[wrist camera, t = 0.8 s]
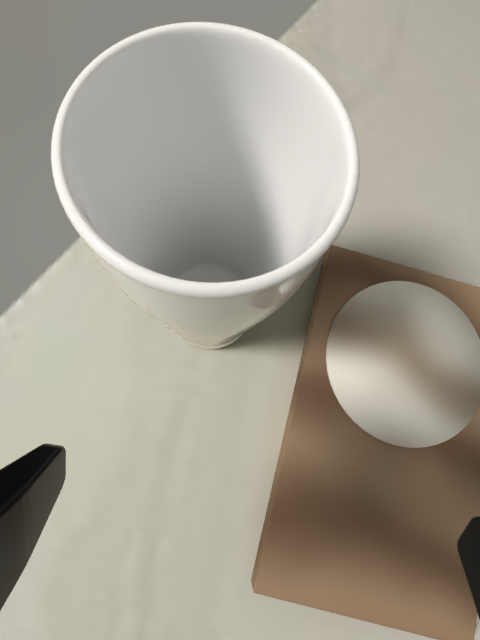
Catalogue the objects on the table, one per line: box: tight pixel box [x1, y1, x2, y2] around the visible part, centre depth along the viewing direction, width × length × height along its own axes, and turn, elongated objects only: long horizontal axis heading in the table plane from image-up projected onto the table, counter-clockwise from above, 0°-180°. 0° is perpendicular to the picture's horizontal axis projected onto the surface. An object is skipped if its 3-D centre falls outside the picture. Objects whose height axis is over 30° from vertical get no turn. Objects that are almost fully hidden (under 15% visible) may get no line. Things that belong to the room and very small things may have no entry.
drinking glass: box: [51, 22, 360, 349], centre depth 15 cm, size 7×7×15 cm
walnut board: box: [251, 245, 480, 640], centre depth 21 cm, size 20×12×1 cm, turn 165°
